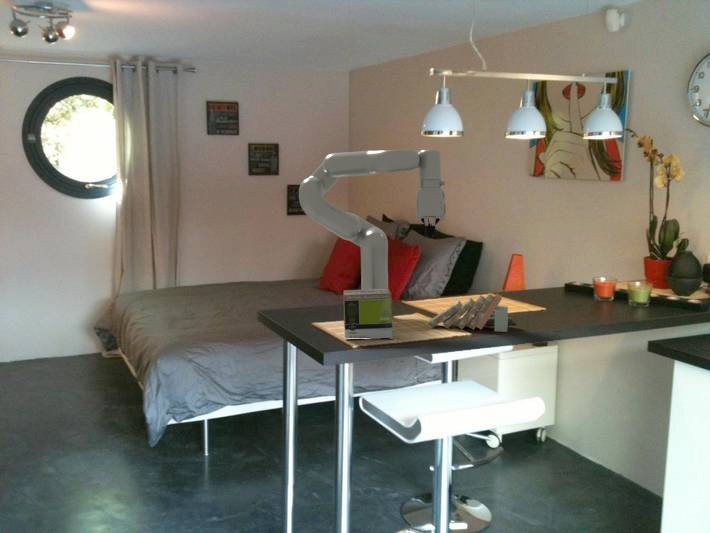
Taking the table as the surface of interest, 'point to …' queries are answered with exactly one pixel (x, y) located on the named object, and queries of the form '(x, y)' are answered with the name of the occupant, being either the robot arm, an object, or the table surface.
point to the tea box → (368, 313)
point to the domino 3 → (471, 312)
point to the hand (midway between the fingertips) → (430, 236)
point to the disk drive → (492, 319)
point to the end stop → (501, 318)
